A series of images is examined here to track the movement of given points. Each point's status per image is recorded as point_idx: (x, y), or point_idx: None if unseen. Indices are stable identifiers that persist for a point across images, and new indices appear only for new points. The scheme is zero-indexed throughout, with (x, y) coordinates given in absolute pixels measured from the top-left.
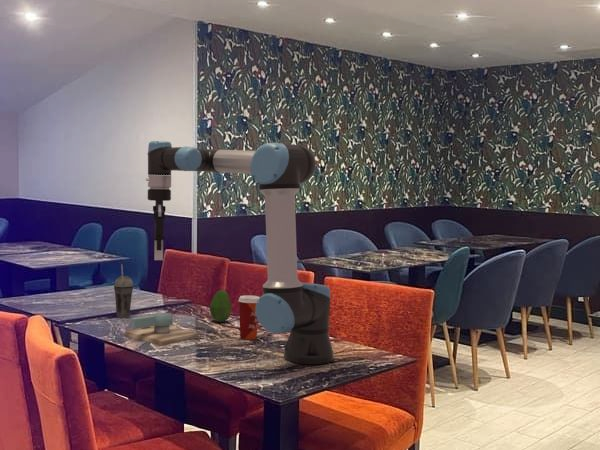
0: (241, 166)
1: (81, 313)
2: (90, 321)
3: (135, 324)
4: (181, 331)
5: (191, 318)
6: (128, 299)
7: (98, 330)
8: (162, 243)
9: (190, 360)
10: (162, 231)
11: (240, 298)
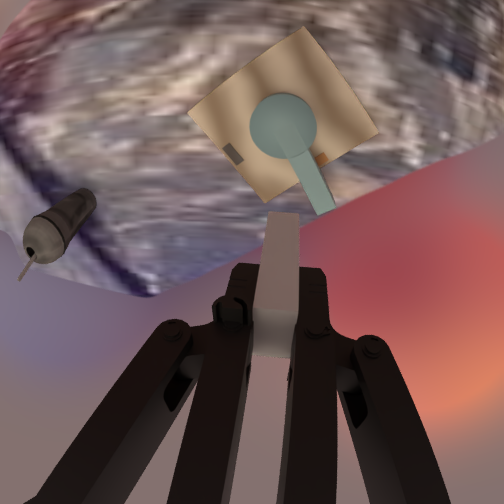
0: None
1: (78, 268)
2: (133, 257)
3: (333, 199)
4: (281, 65)
5: (83, 47)
6: (70, 210)
7: (210, 247)
8: (297, 294)
9: (492, 104)
10: (411, 405)
11: None
